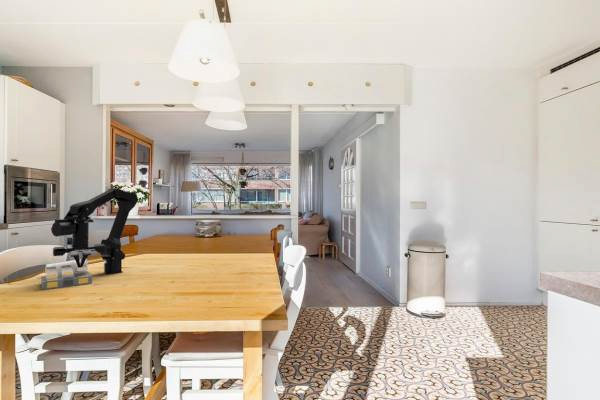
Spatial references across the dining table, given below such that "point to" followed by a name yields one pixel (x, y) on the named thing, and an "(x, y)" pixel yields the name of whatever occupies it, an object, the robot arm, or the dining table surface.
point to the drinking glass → (72, 263)
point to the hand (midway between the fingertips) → (79, 269)
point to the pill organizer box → (66, 280)
